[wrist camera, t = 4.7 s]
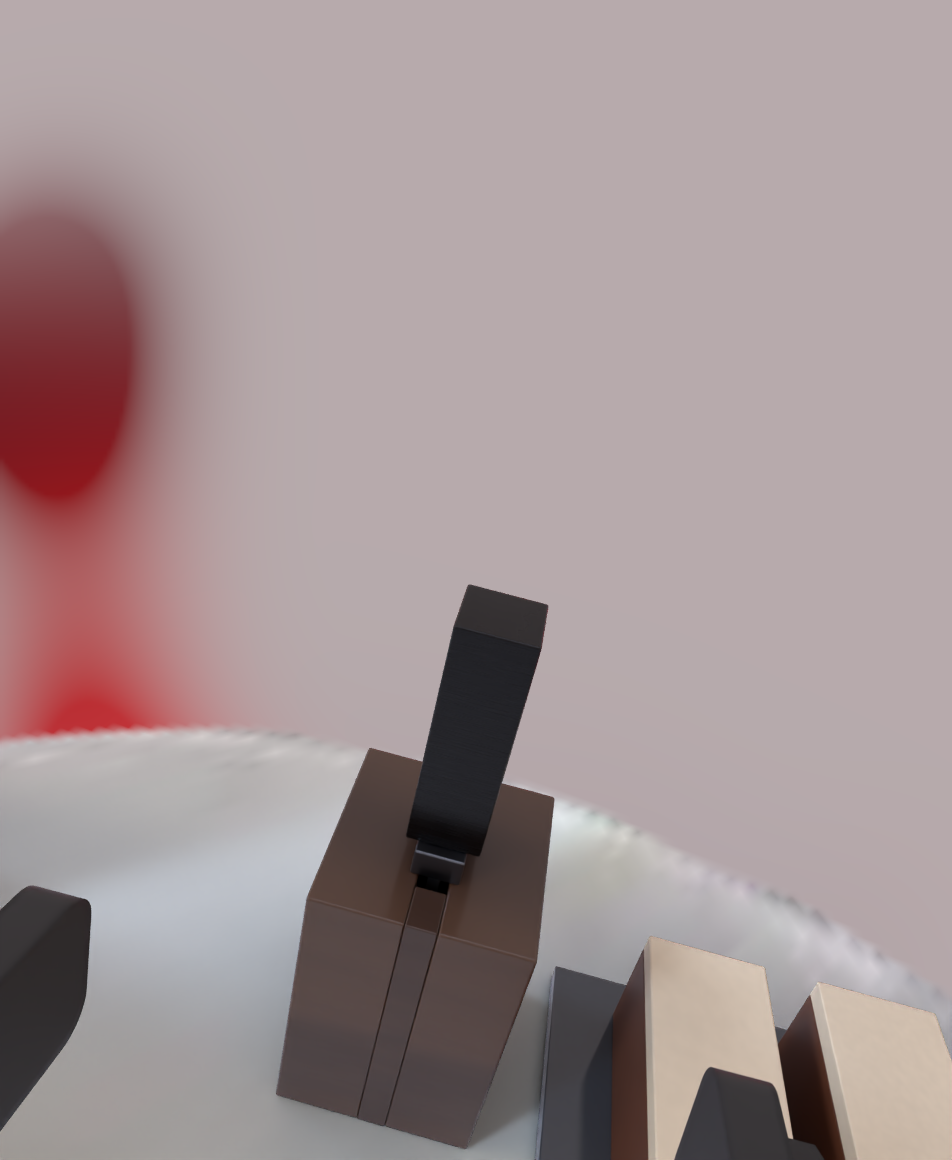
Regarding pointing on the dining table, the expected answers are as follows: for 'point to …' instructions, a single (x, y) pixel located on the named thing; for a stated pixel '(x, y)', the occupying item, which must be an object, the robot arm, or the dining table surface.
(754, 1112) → the robot arm
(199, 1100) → the dining table surface
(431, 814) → the knife
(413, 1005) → the knife block
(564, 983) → the cake board
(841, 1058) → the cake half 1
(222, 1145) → the dining table surface
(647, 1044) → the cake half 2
